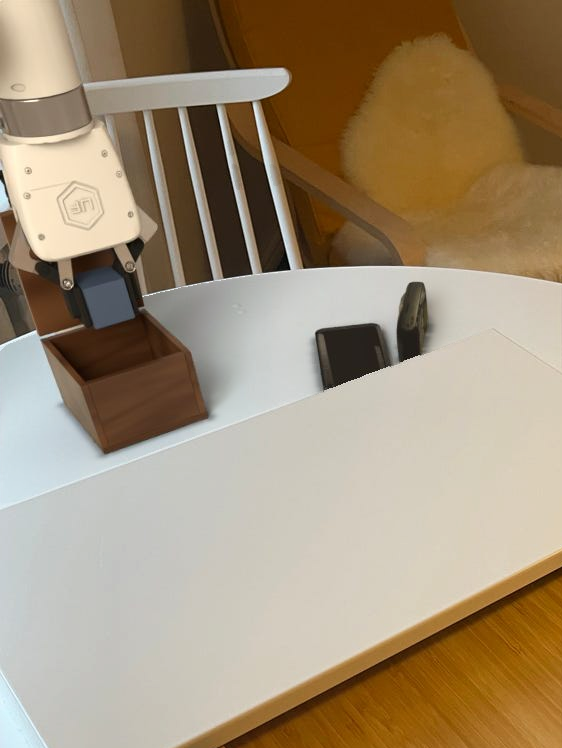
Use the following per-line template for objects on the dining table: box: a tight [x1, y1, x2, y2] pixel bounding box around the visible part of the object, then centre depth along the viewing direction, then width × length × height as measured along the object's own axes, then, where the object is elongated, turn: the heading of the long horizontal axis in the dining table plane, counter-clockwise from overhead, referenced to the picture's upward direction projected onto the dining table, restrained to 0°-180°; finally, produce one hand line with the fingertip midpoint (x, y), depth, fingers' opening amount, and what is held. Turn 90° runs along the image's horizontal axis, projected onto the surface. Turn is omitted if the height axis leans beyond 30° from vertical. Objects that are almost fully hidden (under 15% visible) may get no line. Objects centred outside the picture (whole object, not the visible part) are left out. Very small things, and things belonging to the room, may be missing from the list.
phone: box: [314, 322, 392, 392], centre depth 107 cm, size 8×1×15 cm
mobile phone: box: [395, 281, 429, 363], centre depth 110 cm, size 5×3×15 cm
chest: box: [39, 308, 208, 455], centre depth 99 cm, size 12×11×8 cm
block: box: [73, 265, 135, 329], centre depth 92 cm, size 4×4×4 cm
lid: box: [0, 209, 145, 338], centre depth 95 cm, size 13×11×5 cm
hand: (107, 313), depth 93 cm, fingers closed on block, 4 cm apart
